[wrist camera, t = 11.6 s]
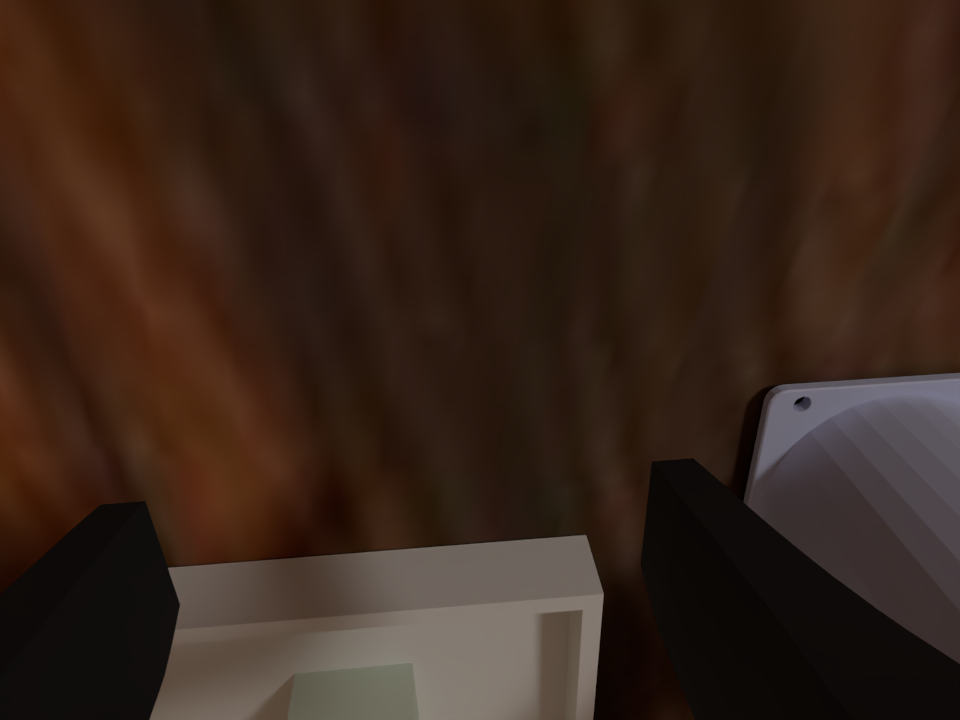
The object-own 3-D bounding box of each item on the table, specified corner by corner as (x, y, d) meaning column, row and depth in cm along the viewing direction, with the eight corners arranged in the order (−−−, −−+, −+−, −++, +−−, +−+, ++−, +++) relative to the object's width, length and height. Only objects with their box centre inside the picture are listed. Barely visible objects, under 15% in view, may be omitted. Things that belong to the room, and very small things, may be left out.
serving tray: (586, 534, 24) (603, 594, 21) (571, 769, 30) (583, 832, 28) (82, 574, 23) (47, 640, 20) (178, 807, 29) (159, 876, 27)
